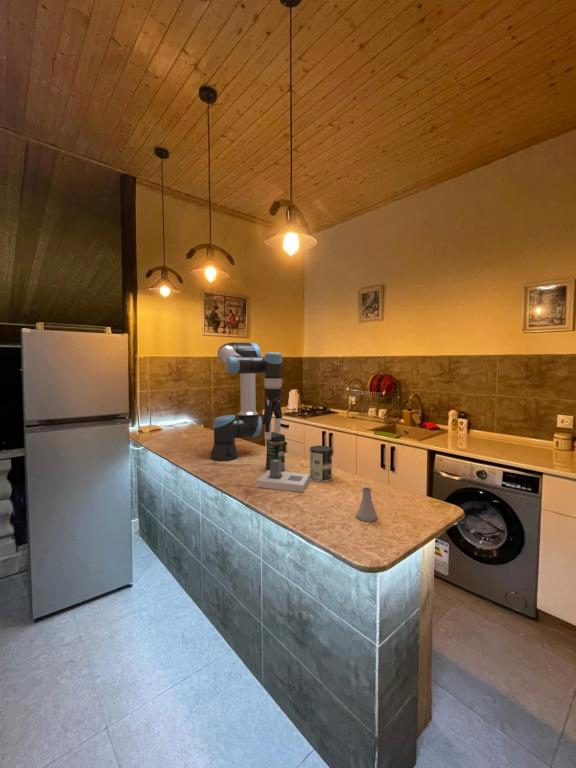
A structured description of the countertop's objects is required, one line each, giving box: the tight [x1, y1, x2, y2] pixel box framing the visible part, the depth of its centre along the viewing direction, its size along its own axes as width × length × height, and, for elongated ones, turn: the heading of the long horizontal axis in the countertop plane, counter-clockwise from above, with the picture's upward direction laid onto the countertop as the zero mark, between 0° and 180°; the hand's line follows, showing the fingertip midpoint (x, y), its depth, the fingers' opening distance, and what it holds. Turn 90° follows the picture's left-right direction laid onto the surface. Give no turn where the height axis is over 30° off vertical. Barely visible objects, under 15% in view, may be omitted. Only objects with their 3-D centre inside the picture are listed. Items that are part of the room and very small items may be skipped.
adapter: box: [270, 459, 282, 479], centre depth 145 cm, size 4×4×10 cm
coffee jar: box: [265, 431, 286, 472], centre depth 163 cm, size 10×8×19 cm
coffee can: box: [309, 445, 333, 483], centre depth 151 cm, size 10×10×14 cm
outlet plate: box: [256, 469, 311, 493], centre depth 144 cm, size 14×20×3 cm
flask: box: [355, 486, 378, 523], centre depth 113 cm, size 7×7×10 cm
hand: (272, 435), depth 145 cm, fingers open, 13 cm apart
